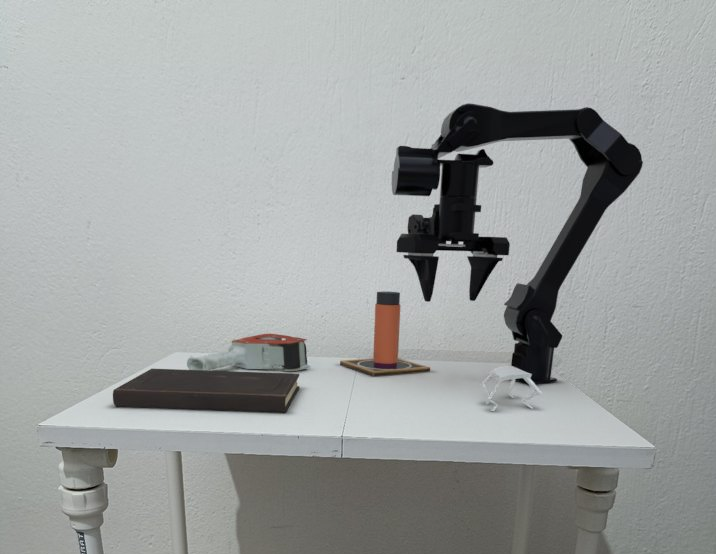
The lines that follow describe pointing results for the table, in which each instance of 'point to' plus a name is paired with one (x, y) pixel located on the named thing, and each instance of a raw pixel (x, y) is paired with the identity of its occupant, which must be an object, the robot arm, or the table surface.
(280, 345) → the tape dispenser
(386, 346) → the dot marker
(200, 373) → the hardcover book
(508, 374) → the white legged figure
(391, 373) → the square coaster
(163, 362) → the table surface
